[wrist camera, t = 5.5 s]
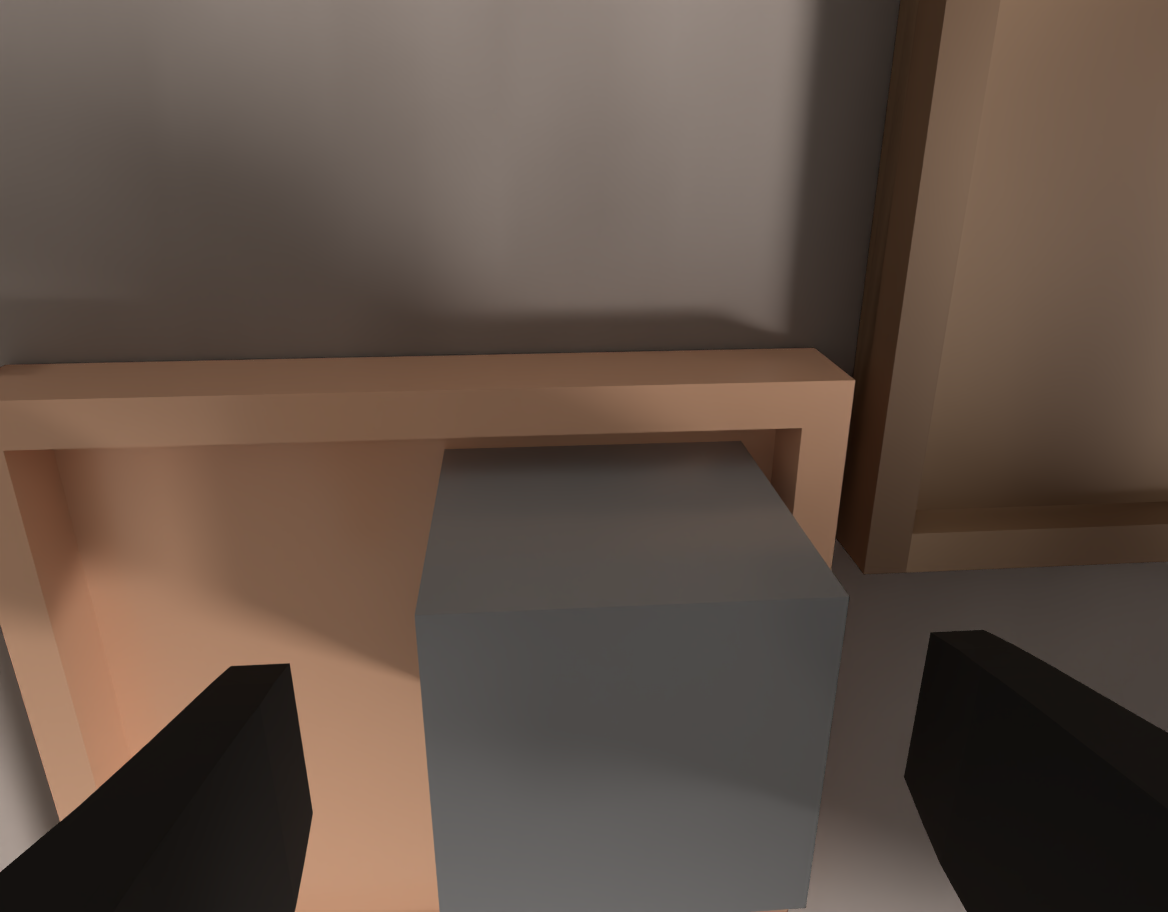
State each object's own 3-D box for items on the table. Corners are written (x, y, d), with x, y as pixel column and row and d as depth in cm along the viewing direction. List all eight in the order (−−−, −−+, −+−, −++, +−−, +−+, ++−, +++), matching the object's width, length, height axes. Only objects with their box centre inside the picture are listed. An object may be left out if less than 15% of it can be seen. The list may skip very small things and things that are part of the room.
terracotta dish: (813, 347, 12) (855, 380, 10) (755, 906, 16) (778, 983, 14) (6, 364, 11) (-68, 402, 10) (160, 949, 15) (124, 1036, 14)
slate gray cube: (722, 682, 13) (805, 907, 9) (460, 696, 13) (441, 933, 9) (741, 441, 12) (849, 596, 8) (444, 449, 11) (414, 614, 8)
